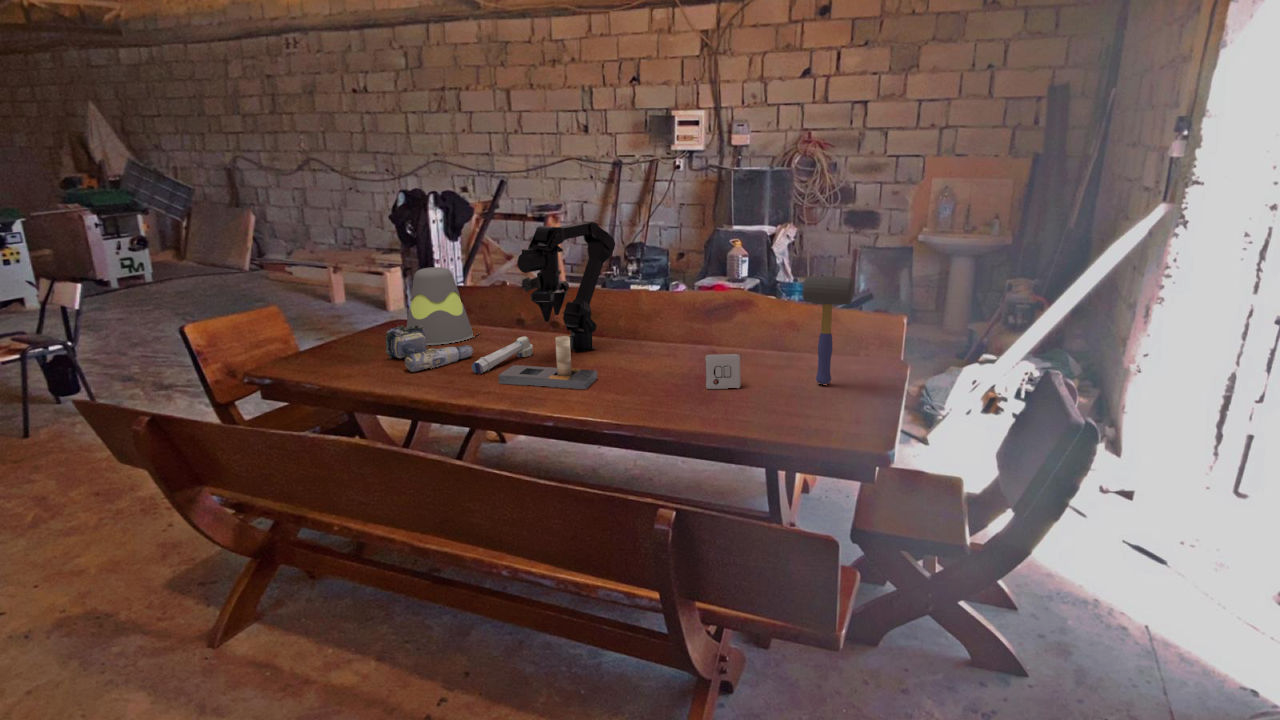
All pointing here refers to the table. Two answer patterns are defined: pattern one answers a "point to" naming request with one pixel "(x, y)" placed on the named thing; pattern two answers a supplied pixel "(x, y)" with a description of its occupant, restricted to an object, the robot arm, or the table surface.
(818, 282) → the rubber mallet
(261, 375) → the table surface
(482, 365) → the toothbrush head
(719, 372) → the electrical switch
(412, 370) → the power drill
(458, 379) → the table surface
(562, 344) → the birch peg
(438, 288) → the grey tapered bucket
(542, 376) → the grey peg hole board
